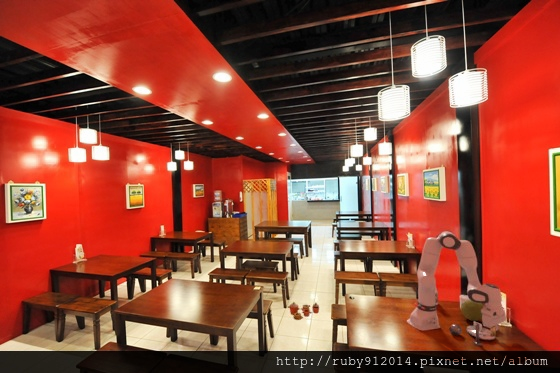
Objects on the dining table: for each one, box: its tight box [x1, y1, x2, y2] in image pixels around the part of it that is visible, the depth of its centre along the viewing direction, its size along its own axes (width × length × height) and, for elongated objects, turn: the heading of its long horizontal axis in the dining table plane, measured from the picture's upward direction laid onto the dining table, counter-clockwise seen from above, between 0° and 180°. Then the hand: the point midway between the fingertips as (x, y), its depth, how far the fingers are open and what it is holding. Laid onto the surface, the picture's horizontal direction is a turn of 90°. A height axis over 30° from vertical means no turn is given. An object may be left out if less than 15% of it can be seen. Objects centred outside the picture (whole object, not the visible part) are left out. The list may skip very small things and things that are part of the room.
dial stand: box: [473, 321, 483, 347], centre depth 159 cm, size 4×4×13 cm
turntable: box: [466, 325, 496, 341], centre depth 168 cm, size 15×15×7 cm
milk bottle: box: [435, 287, 439, 306], centre depth 214 cm, size 8×8×20 cm
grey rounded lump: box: [448, 323, 462, 337], centre depth 170 cm, size 6×6×5 cm
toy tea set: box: [287, 301, 320, 321], centre depth 205 cm, size 26×16×10 cm, turn 119°
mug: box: [459, 294, 471, 309], centre depth 202 cm, size 12×8×10 cm
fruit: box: [460, 300, 485, 322], centre depth 186 cm, size 16×14×15 cm
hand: (495, 330), depth 165 cm, fingers closed
